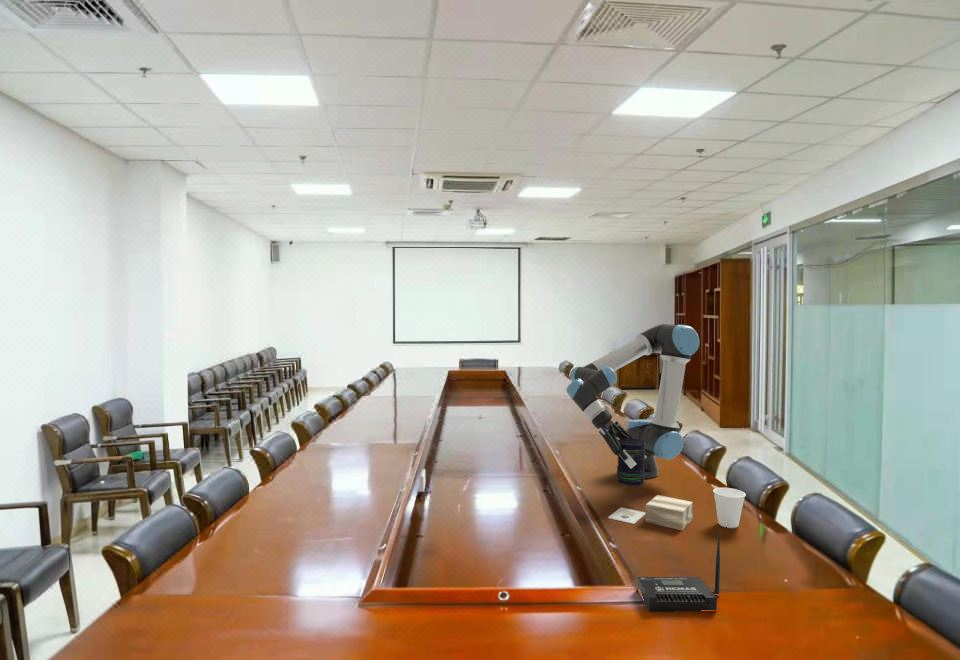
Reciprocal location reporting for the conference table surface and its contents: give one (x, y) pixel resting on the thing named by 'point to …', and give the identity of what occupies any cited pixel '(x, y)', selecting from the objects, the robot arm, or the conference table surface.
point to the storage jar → (637, 454)
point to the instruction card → (627, 515)
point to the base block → (669, 512)
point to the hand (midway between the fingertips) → (638, 462)
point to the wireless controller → (680, 591)
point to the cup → (729, 506)
